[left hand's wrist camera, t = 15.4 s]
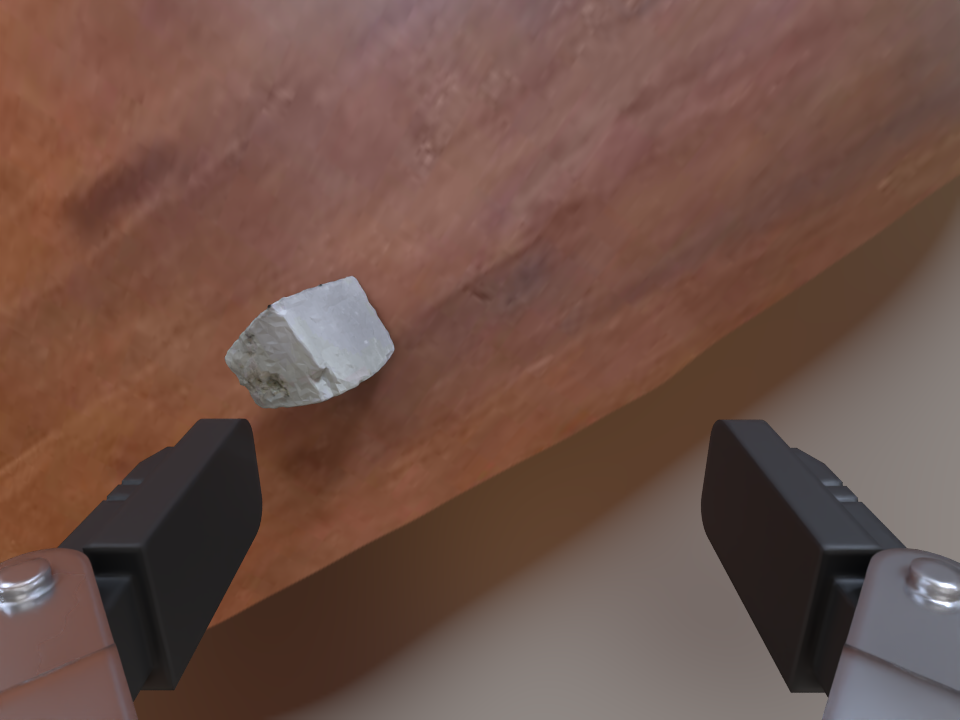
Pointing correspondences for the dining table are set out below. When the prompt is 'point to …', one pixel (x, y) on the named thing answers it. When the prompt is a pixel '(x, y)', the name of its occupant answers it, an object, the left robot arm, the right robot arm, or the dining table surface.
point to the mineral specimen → (311, 346)
